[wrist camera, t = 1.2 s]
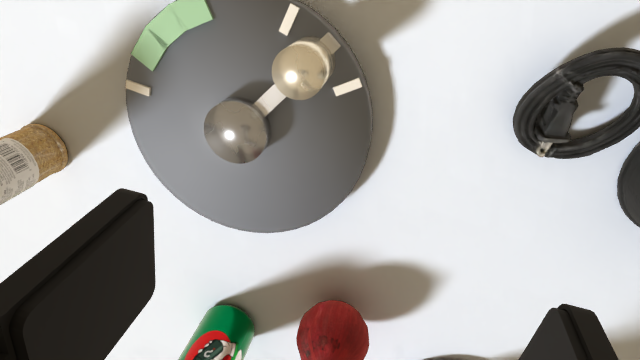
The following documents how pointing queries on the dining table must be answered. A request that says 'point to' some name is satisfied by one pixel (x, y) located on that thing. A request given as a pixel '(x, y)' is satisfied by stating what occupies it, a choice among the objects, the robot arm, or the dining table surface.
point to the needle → (269, 99)
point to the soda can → (221, 335)
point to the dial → (251, 83)
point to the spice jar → (29, 159)
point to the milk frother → (557, 111)
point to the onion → (332, 333)
